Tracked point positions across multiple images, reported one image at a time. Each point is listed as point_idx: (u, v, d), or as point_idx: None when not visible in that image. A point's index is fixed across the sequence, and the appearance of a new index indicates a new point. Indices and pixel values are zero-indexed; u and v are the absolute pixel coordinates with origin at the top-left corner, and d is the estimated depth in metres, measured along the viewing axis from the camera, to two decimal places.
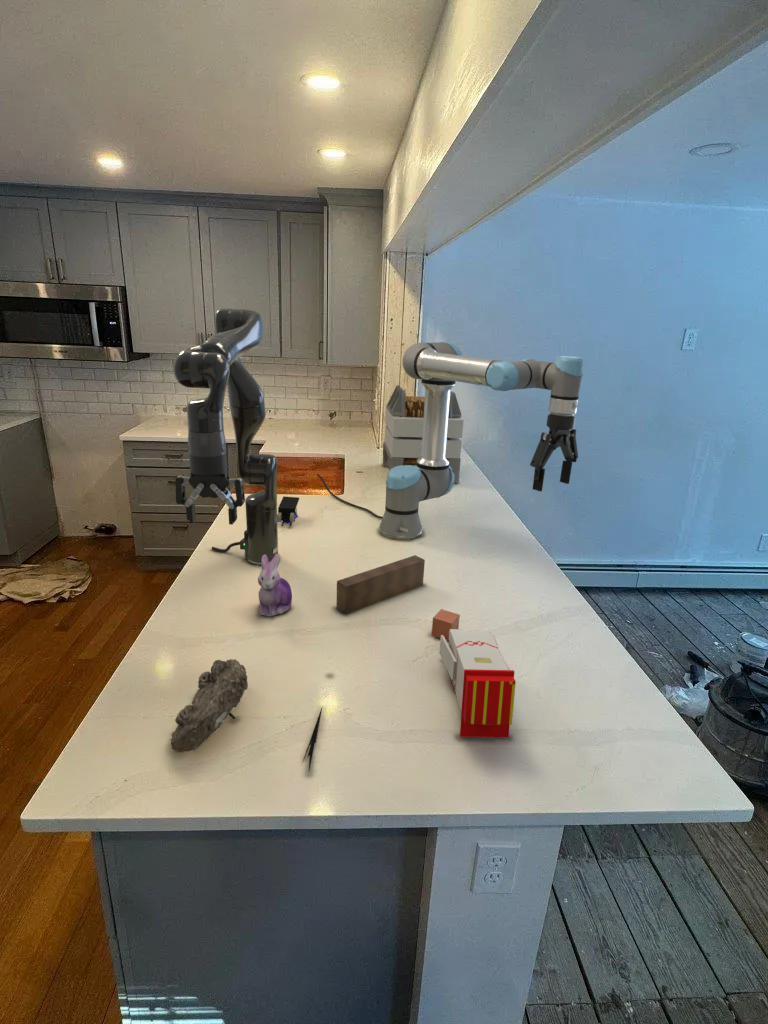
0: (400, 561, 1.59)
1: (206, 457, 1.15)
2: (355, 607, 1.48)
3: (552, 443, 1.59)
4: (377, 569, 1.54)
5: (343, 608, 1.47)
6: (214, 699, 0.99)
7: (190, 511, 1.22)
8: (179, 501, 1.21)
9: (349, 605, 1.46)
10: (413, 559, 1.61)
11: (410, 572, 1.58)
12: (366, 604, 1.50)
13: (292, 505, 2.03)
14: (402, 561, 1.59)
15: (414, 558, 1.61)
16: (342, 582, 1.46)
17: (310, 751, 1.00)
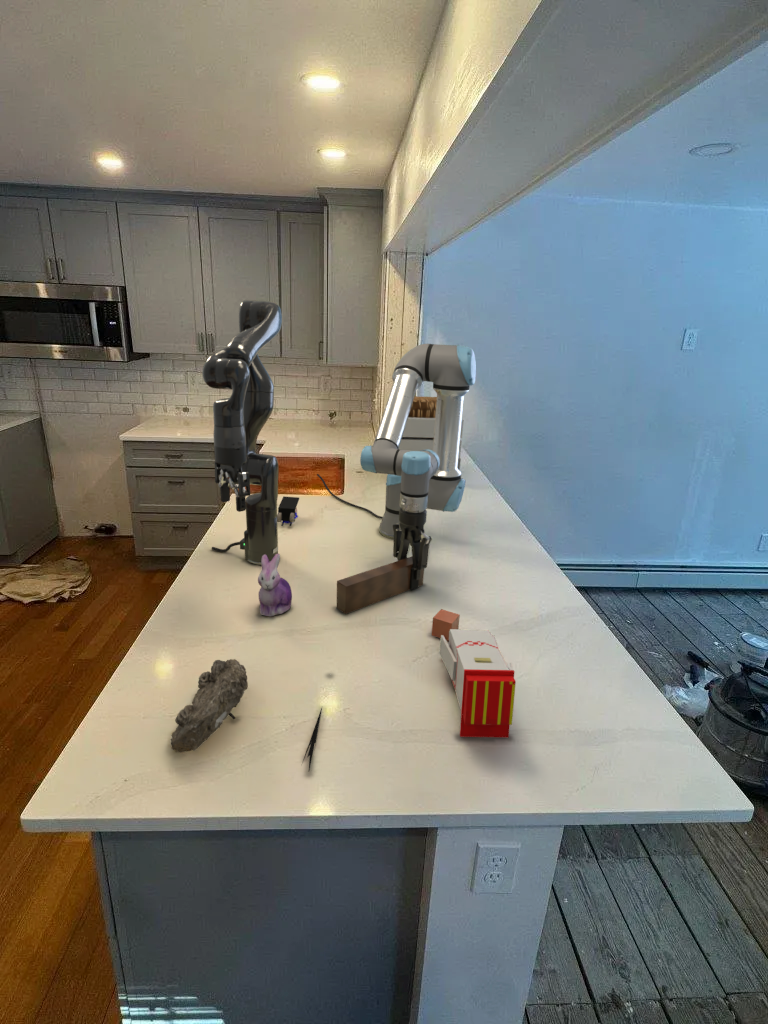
0: (400, 561, 1.59)
1: None
2: (355, 607, 1.48)
3: None
4: (377, 569, 1.54)
5: (343, 608, 1.47)
6: (214, 699, 0.99)
7: None
8: None
9: (349, 605, 1.46)
10: None
11: (410, 572, 1.58)
12: (366, 604, 1.50)
13: (292, 505, 2.03)
14: (402, 561, 1.59)
15: None
16: (342, 582, 1.46)
17: (310, 751, 1.00)
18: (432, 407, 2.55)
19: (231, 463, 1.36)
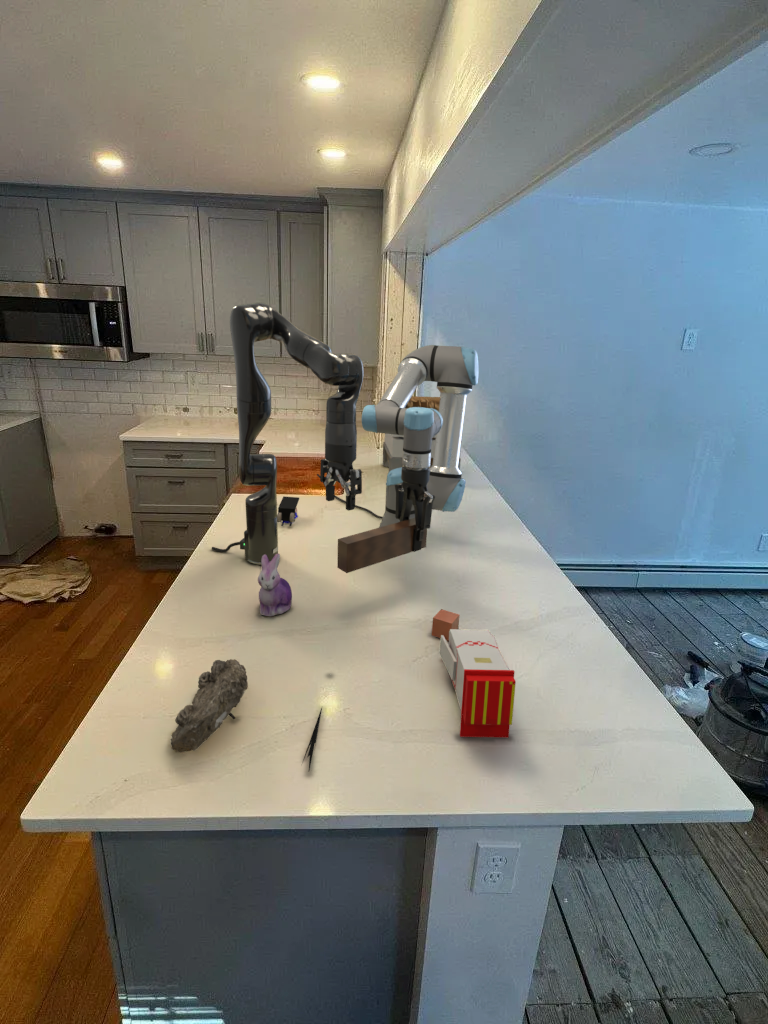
0: (402, 522, 1.55)
1: None
2: (357, 567, 1.44)
3: None
4: (379, 529, 1.50)
5: (344, 567, 1.43)
6: (214, 699, 0.99)
7: None
8: None
9: (350, 564, 1.42)
10: None
11: None
12: (368, 564, 1.47)
13: (292, 505, 2.03)
14: (405, 522, 1.55)
15: None
16: (343, 540, 1.42)
17: (310, 751, 1.00)
18: (432, 407, 2.55)
19: (343, 460, 1.33)
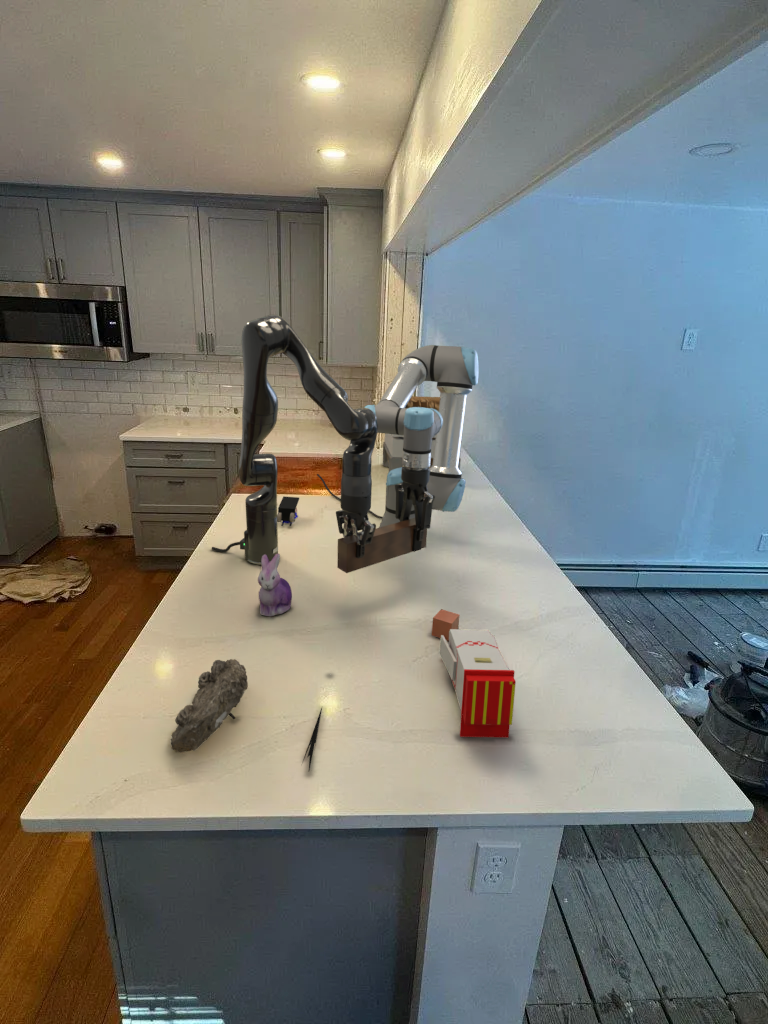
0: (402, 522, 1.55)
1: None
2: (357, 567, 1.44)
3: None
4: (379, 529, 1.50)
5: (344, 567, 1.43)
6: (214, 699, 0.99)
7: None
8: None
9: (350, 564, 1.42)
10: None
11: None
12: (368, 564, 1.47)
13: (292, 505, 2.03)
14: (405, 522, 1.55)
15: None
16: (343, 540, 1.42)
17: (310, 751, 1.00)
18: (432, 407, 2.55)
19: (359, 511, 1.37)
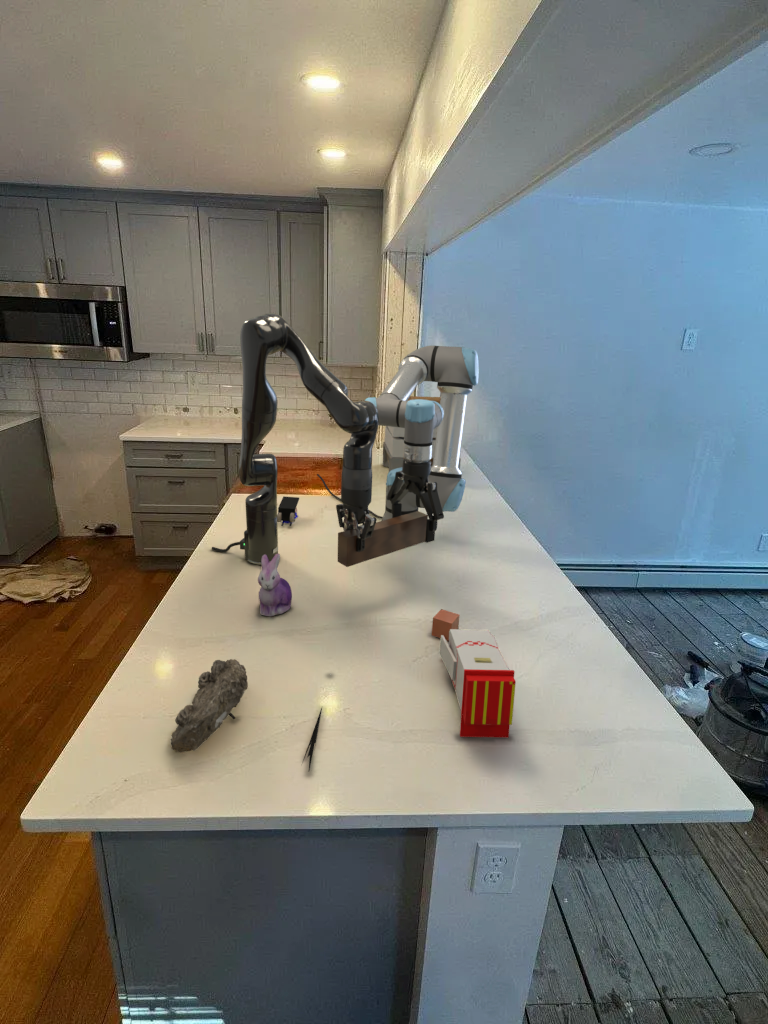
0: (402, 516, 1.55)
1: None
2: (357, 560, 1.44)
3: None
4: (379, 523, 1.49)
5: (344, 561, 1.42)
6: (214, 699, 0.99)
7: None
8: None
9: (351, 557, 1.42)
10: (415, 514, 1.57)
11: (413, 527, 1.54)
12: (368, 558, 1.46)
13: (292, 505, 2.03)
14: (405, 516, 1.55)
15: (417, 513, 1.57)
16: (343, 534, 1.41)
17: (310, 751, 1.00)
18: None
19: (359, 504, 1.37)
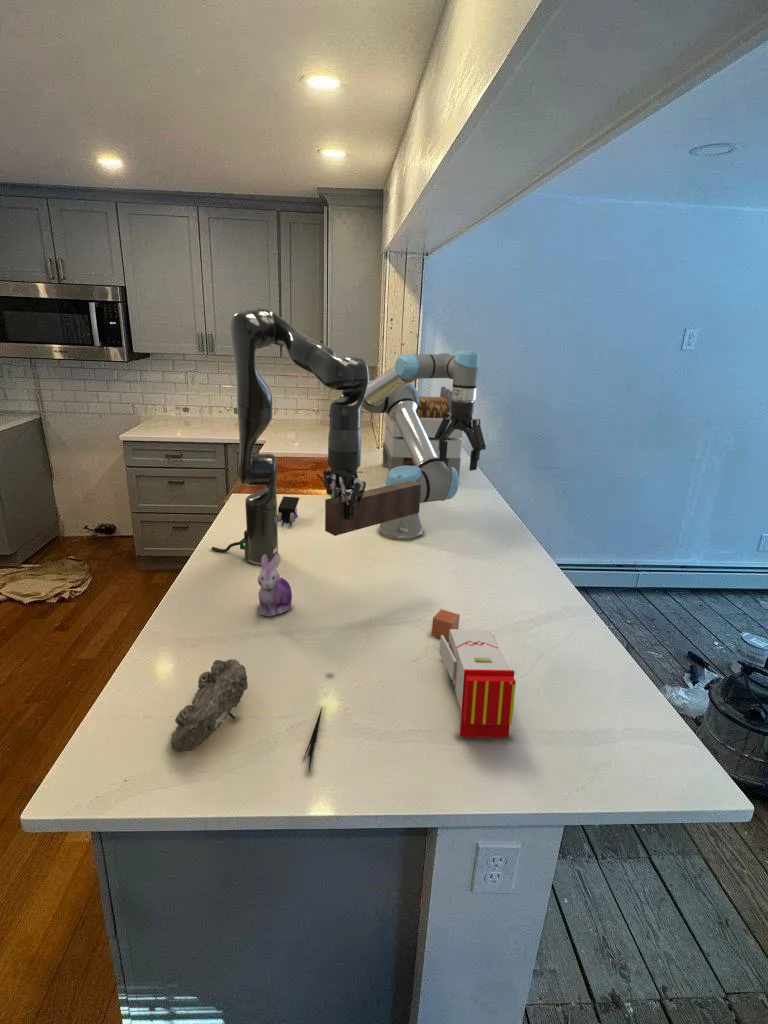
0: (394, 485, 1.46)
1: None
2: (346, 529, 1.35)
3: None
4: (369, 491, 1.41)
5: (332, 529, 1.34)
6: (214, 699, 0.99)
7: None
8: None
9: (339, 526, 1.33)
10: (408, 483, 1.48)
11: (405, 496, 1.46)
12: (358, 527, 1.38)
13: (292, 505, 2.03)
14: (397, 485, 1.47)
15: (409, 483, 1.49)
16: (331, 500, 1.33)
17: (310, 751, 1.00)
18: (432, 407, 2.55)
19: (348, 467, 1.28)
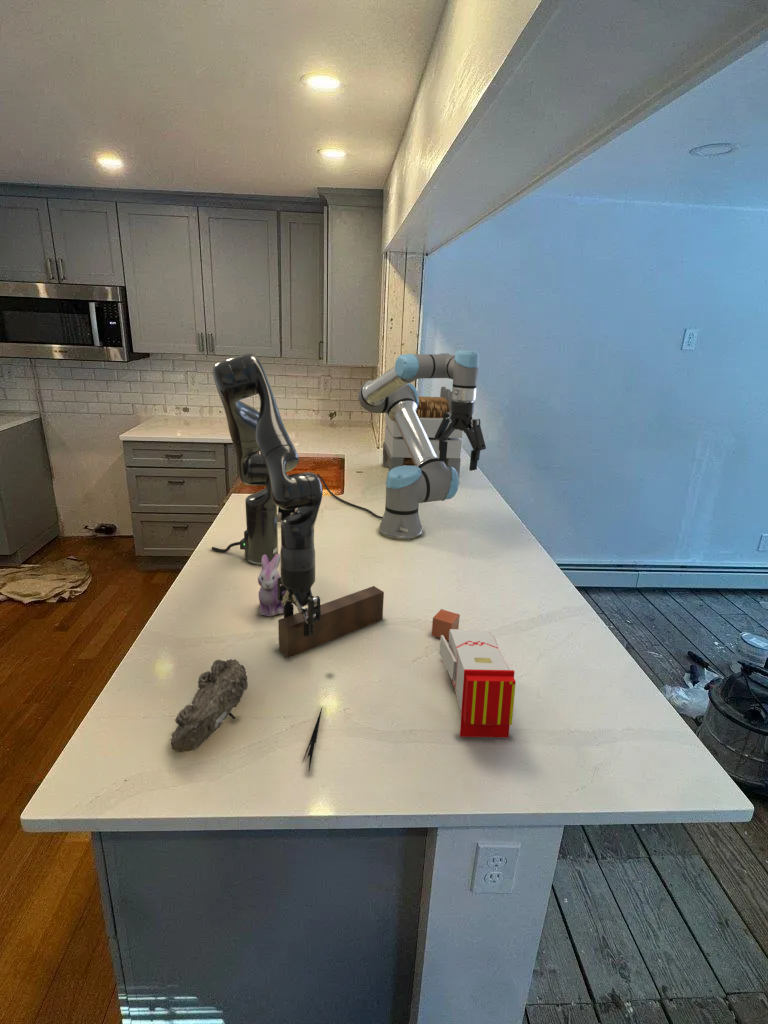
0: (355, 594, 1.40)
1: None
2: (300, 650, 1.29)
3: None
4: (327, 604, 1.34)
5: (285, 651, 1.27)
6: (214, 699, 0.99)
7: None
8: None
9: (292, 648, 1.27)
10: (370, 591, 1.42)
11: (366, 606, 1.39)
12: (314, 645, 1.31)
13: None
14: (358, 594, 1.40)
15: (372, 590, 1.42)
16: (284, 622, 1.26)
17: (310, 751, 1.00)
18: (432, 407, 2.55)
19: (300, 587, 1.21)
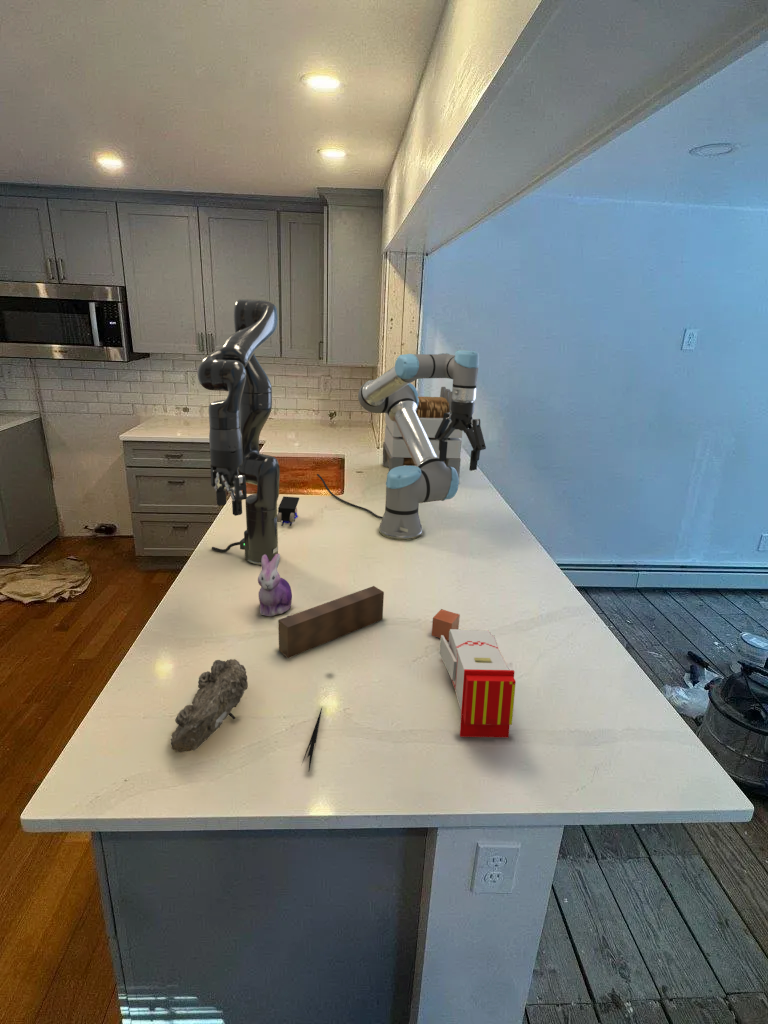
0: (355, 594, 1.40)
1: None
2: (300, 650, 1.29)
3: None
4: (327, 604, 1.34)
5: (285, 651, 1.27)
6: (214, 699, 0.99)
7: None
8: None
9: (292, 648, 1.27)
10: (370, 591, 1.42)
11: (366, 606, 1.39)
12: (314, 645, 1.31)
13: (292, 505, 2.03)
14: (358, 594, 1.40)
15: (372, 590, 1.42)
16: (284, 622, 1.26)
17: (310, 751, 1.00)
18: (432, 407, 2.55)
19: (227, 466, 1.33)
